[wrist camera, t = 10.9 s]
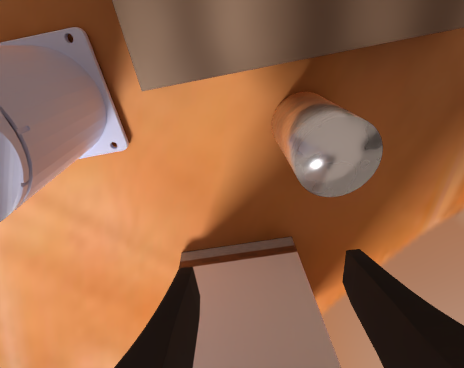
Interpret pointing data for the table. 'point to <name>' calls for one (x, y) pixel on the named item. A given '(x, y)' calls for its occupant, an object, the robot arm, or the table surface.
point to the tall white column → (257, 309)
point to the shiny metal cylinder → (326, 144)
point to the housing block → (264, 32)
